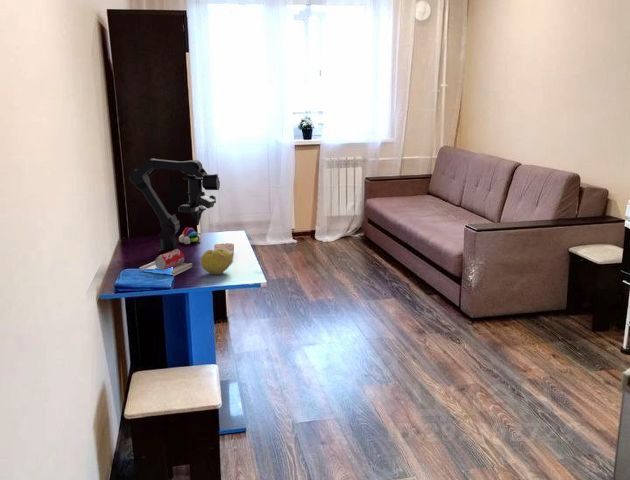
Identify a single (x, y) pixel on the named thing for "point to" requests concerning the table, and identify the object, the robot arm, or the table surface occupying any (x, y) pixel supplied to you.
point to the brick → (226, 248)
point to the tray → (176, 269)
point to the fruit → (216, 261)
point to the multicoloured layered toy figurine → (189, 236)
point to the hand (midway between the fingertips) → (197, 225)
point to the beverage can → (169, 259)
